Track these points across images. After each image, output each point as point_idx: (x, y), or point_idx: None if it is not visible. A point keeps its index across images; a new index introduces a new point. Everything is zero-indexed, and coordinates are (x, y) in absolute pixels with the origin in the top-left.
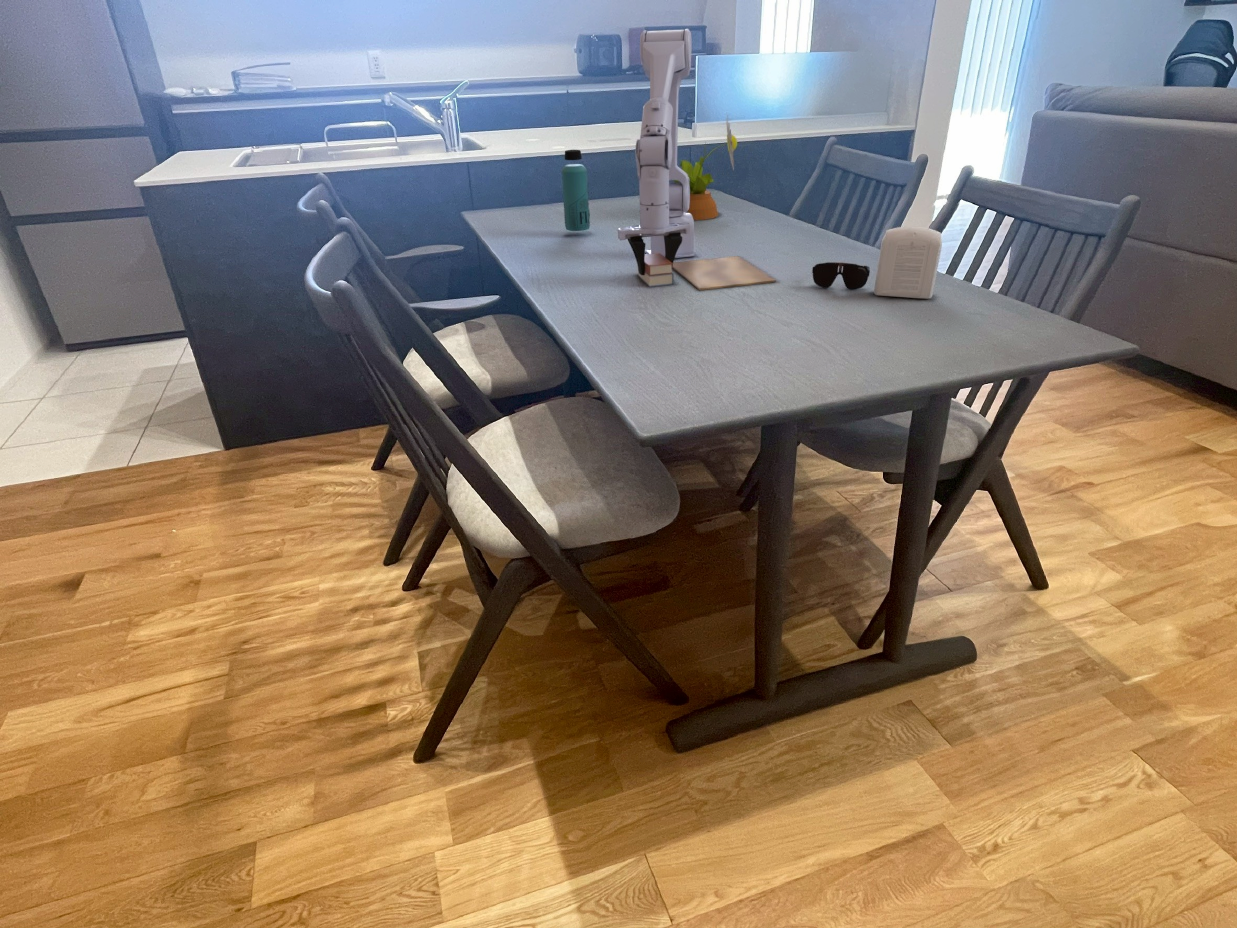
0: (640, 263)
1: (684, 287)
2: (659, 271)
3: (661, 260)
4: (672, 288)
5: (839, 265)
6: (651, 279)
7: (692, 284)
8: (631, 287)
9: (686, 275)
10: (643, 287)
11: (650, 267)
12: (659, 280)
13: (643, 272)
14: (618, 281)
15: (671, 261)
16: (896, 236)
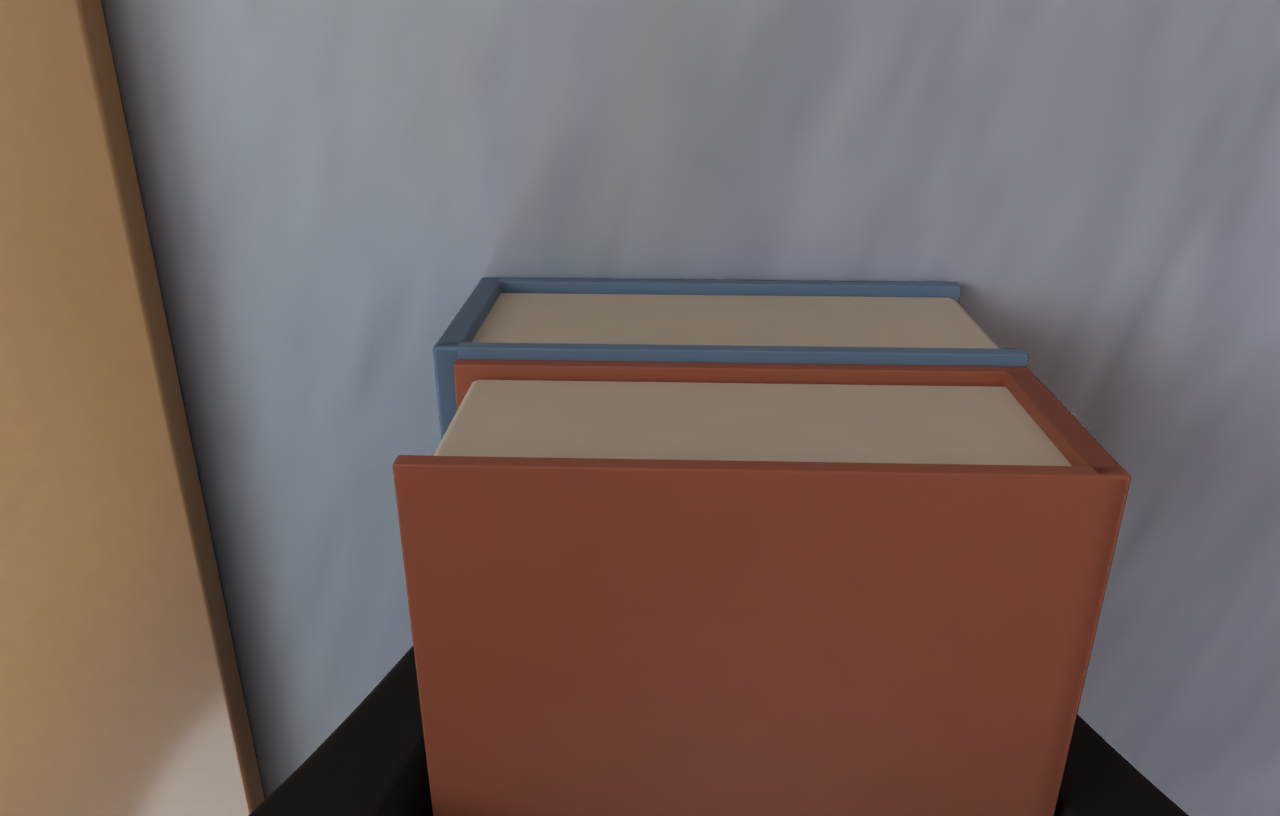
0: (1169, 801)
1: (315, 23)
2: (775, 402)
3: (608, 800)
4: (565, 43)
5: None
6: (947, 336)
7: (128, 142)
8: (1259, 386)
9: (164, 595)
10: (1062, 310)
11: (1056, 465)
12: (762, 321)
13: None
14: (1273, 748)
15: (355, 762)
16: None
